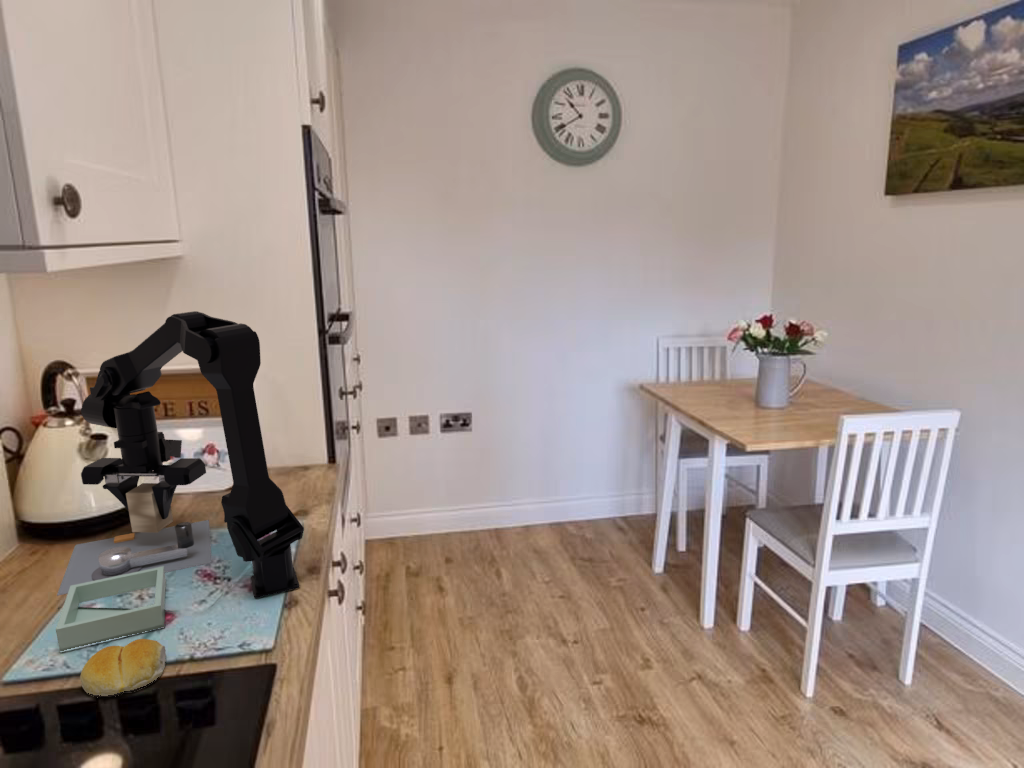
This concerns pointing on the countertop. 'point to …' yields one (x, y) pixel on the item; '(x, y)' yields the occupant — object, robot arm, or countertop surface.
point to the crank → (146, 553)
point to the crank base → (87, 562)
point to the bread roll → (123, 667)
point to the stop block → (145, 510)
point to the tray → (110, 610)
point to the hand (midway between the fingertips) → (151, 518)
